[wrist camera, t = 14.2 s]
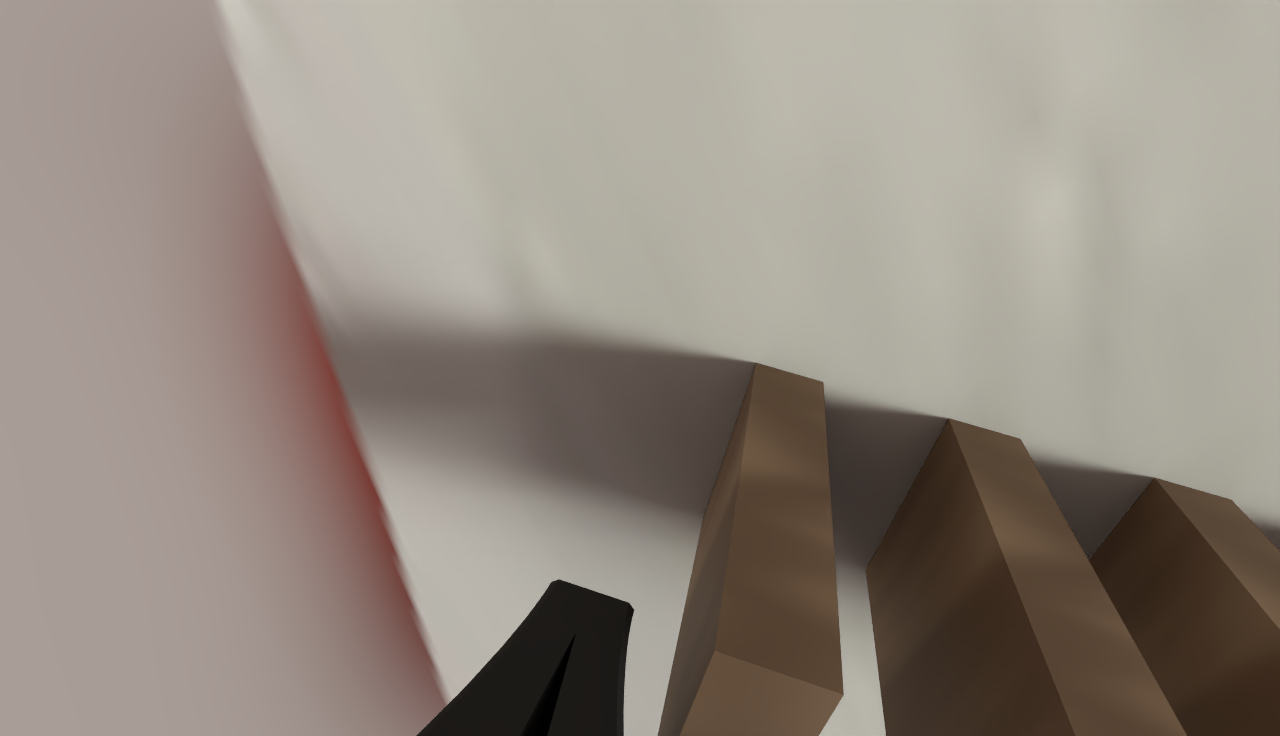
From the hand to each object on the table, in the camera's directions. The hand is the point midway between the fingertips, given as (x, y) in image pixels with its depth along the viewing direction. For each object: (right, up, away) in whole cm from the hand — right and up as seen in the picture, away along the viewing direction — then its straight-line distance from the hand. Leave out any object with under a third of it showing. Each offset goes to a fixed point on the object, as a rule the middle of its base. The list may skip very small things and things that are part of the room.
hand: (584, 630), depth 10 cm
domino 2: (+8, +1, +5) cm, 10 cm away
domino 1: (+4, +2, +5) cm, 7 cm away
